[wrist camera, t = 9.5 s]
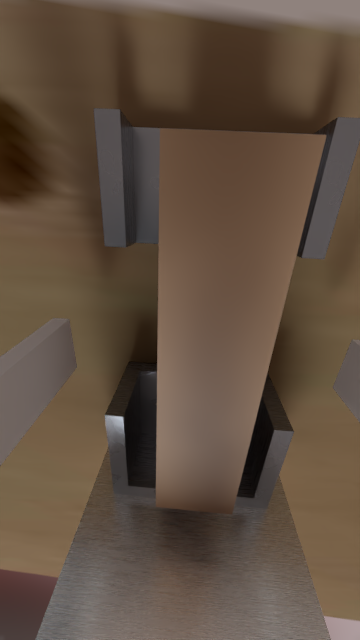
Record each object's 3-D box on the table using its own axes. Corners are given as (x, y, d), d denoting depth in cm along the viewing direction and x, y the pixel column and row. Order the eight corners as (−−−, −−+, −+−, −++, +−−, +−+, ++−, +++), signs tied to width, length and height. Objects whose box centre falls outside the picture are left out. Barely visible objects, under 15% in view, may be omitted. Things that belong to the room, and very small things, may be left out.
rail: (168, 417, 18) (155, 506, 12) (177, 169, 11) (160, 128, 6) (221, 421, 18) (232, 514, 12) (262, 173, 11) (326, 134, 6)
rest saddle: (123, 239, 14) (104, 245, 11) (117, 133, 12) (93, 108, 9) (298, 249, 13) (324, 259, 11) (325, 141, 11) (366, 118, 8)
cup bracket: (115, 437, 21) (25, 688, 10) (108, 360, 17) (-43, 612, 6) (266, 450, 20) (349, 732, 9) (288, 374, 17) (460, 674, 6)
